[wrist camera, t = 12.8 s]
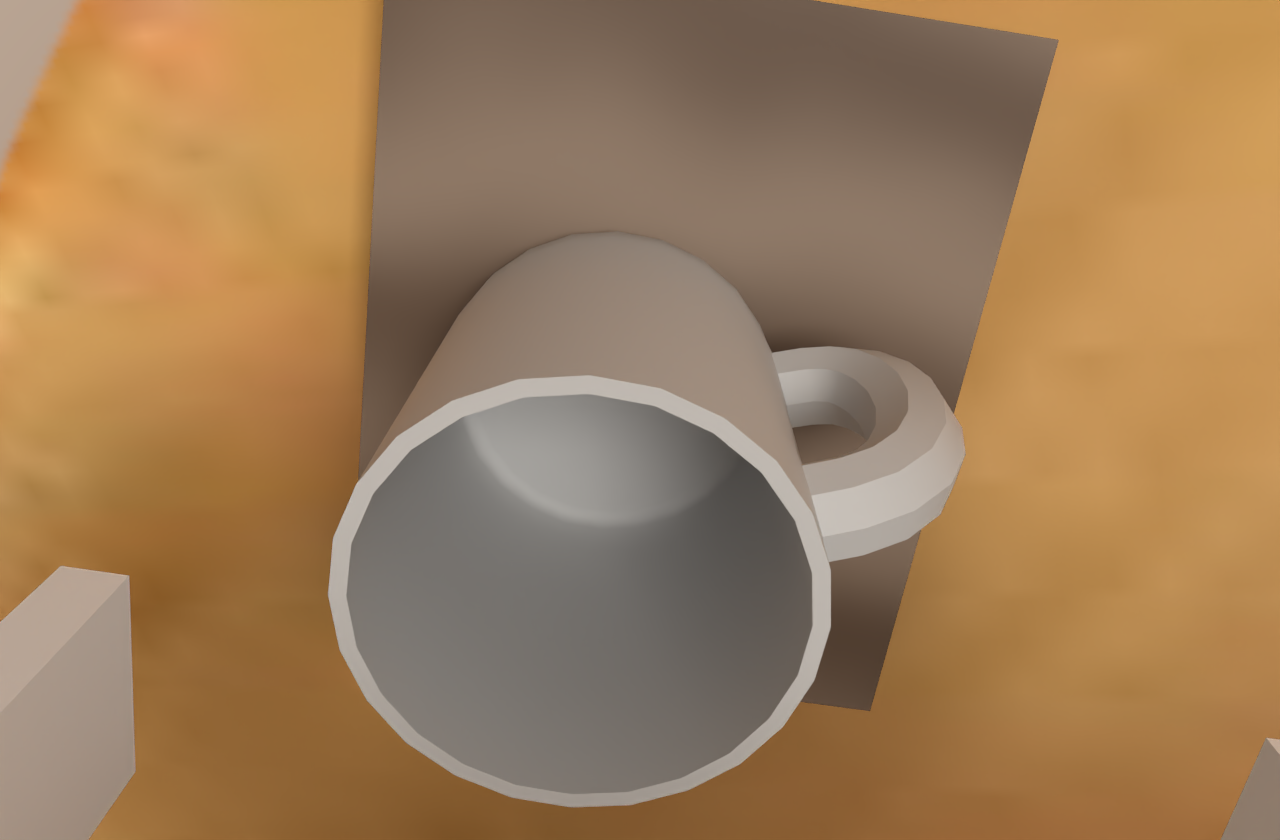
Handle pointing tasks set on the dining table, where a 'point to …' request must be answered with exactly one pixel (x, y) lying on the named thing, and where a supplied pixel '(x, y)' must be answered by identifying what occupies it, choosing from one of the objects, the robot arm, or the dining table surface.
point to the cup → (619, 525)
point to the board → (708, 190)
